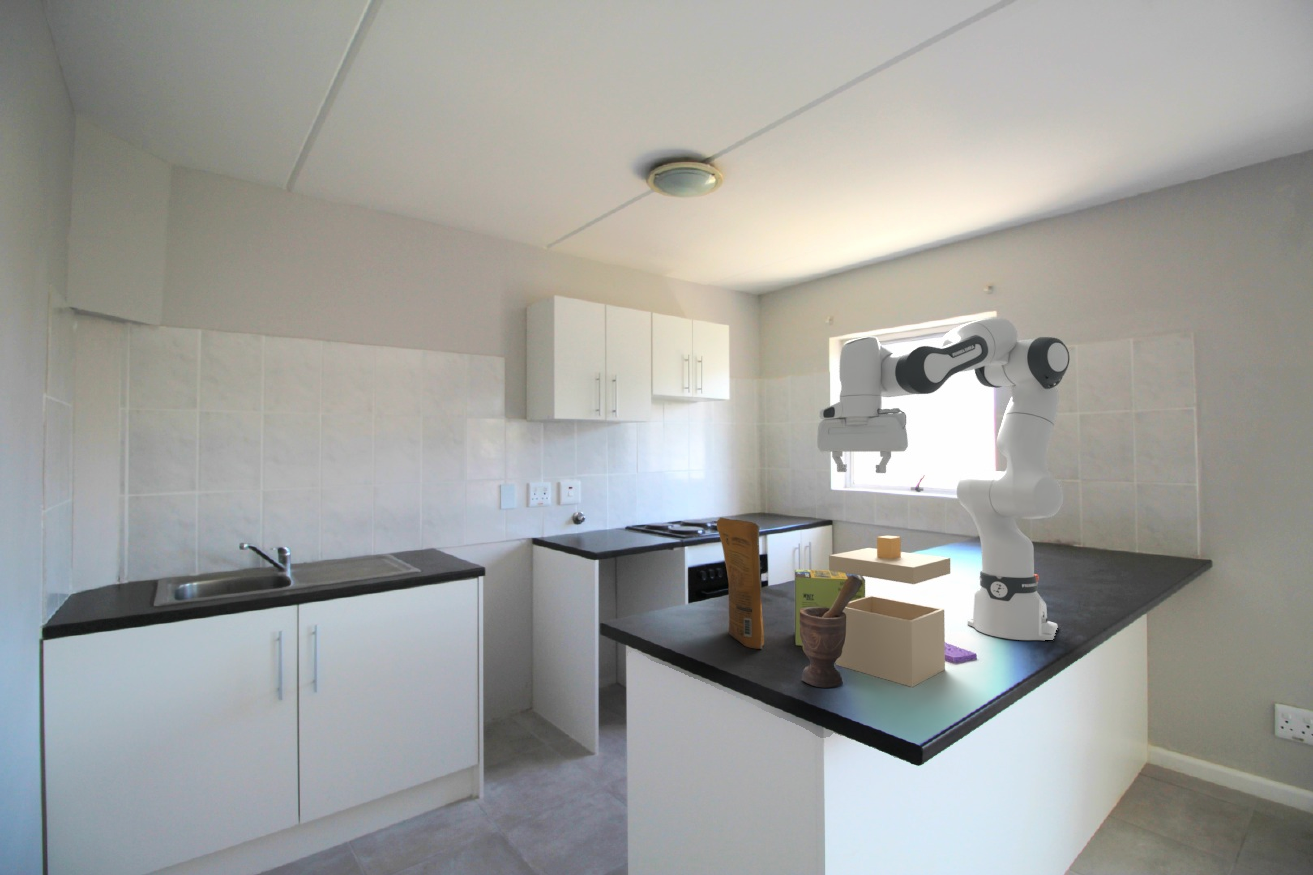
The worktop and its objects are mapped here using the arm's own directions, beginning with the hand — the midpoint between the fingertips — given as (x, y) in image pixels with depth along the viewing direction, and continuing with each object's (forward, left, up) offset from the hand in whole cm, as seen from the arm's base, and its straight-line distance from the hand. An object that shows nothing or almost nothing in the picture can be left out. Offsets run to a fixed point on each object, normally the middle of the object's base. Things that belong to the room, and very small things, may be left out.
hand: (860, 472), depth 135 cm
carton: (+5, +9, -39) cm, 40 cm away
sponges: (-13, +12, -40) cm, 43 cm away
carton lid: (+5, +9, -20) cm, 22 cm away
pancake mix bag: (+13, -23, -39) cm, 47 cm away
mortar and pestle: (+20, +5, -39) cm, 45 cm away
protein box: (-1, -9, -39) cm, 40 cm away
